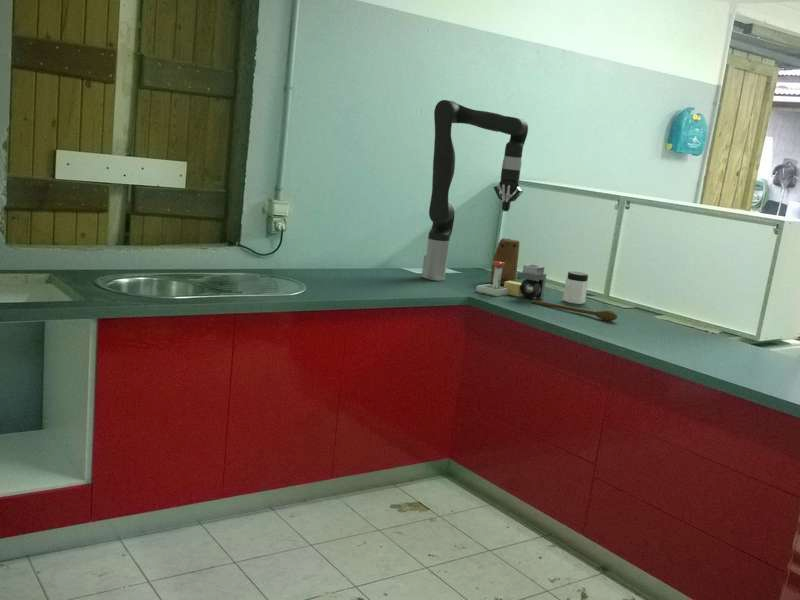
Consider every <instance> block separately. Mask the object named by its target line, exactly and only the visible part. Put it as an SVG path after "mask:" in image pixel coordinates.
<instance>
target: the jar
mask: <svg viewBox="0 0 800 600" xmlns="http://www.w3.org/2000/svg"><path fill="white" fill-rule="evenodd" d="M588 279H589V274H587V273H584V272H580V271H568V272H567V277H566V278H565V285H564V290H563V295H562V300H563V302H566V303H569V304H577V305H582V304H583V305H584V304H585V303H586V297H587V292H588V286H589V285H588V284H589V281H588Z"/></svg>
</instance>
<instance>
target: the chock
mask: <svg viewBox="0 0 800 600" xmlns="http://www.w3.org/2000/svg"><path fill="white" fill-rule="evenodd" d="M521 284H522V282H518V281H515V282H514V281H505V282H504V285H503V287H504V288H509V293H508V295H510V296H513V297H522V296H523V295H522V293H521V290H520V287H521ZM523 297H524V296H523Z"/></svg>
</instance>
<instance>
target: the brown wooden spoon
mask: <svg viewBox="0 0 800 600" xmlns="http://www.w3.org/2000/svg"><path fill="white" fill-rule="evenodd" d="M531 304H534V305H537V306H538V305H539V306H542V307H543V306H544V307H547V308H548V307H550V308H555V309H559V310H565V311H568V312H569V311H571V312H576V313H581V314H587V315H590V316H591V315H592V316H595V317H597V318H599V319H601V320H602V321H605V322H607V323H608V322H609V321H610V322H612V321H615V320H617V318H618V314H616V313H615V312H614V311H613V310H612V309H603V310H602V309H601V310H596V311H595V310H591V309H584V308H580V307H573V306H568V305H564V304H558V303H553V302H547V301H540V300H538V299H532V300H531ZM610 322H609V323H610Z"/></svg>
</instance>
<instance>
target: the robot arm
mask: <svg viewBox="0 0 800 600" xmlns="http://www.w3.org/2000/svg"><path fill="white" fill-rule="evenodd" d="M433 113H434V114H433V115H434V116H433V117H434V118H433V120H434V141H433V142H434V143H433V144H434V145H433V160H432V183H431V197H430V204H429V210H428V216H429V218H430V221H431V222H432V224H431V225H432V226H431V229H430V230H429V232H428V236H427V237H428V238H427V245H426V253H425V255H423V262H422V269H421V271H422V272H421V278H424V279H427V280H430V281H440V282H441V281H442V282H443V281H445V280H446V279H445V278H446V271H447V265H448V257H449V256H448V255H449V246H450V239H451V235H452V233H453V227H454V222H455V221H454V220H455V209H454V206H453V205H452V204H451V203H449V192H450V187H451V184H452V181H453V178H454V175H455V169H456V168H455V167H456V151H455V147H454V142H453V139H452V127H453V126H452V124H465V125H469V126H470V125H471V126H475V127H476V128H477V127H478V128H479V129H480V128H481V129H484V130H488V131H492V132H499V133H502V134H505V135H508V136H509V135H510V137H509V140H508V142H506V144H505V148H504V156H503V160H502V165H501V170H500V171H501V172H500V181H499V183H498V185H496V186H494V187H493V189H494V192H495V194H496V196H497V198H498V199H499V200H501V201H502V204H501V205H502V206H501V210H502V211H503V212H509V211H510V208H511V203H512V202H515V201H517V199H518V198H519V197H520V196H521V195H522V194H523V193H524V190H523V189H521V188H520V186H519V181H520V176H521V168H522V157H523V149H524V145H525V143H526V140H527V136H528V133H529V132H528V131H529V124H528V122H527V121H526V120H525V119H523V118H520V117H514V116H508V115H503V114H500V113H495V112H490V111H484V110H477V109H472V108H468V107H465V106H464V105H462V104H459V103H457V102H455V101H453V100H448V99H441V100H439V101H438V102H437V103H436V105H435V107H434V111H433Z"/></svg>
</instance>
